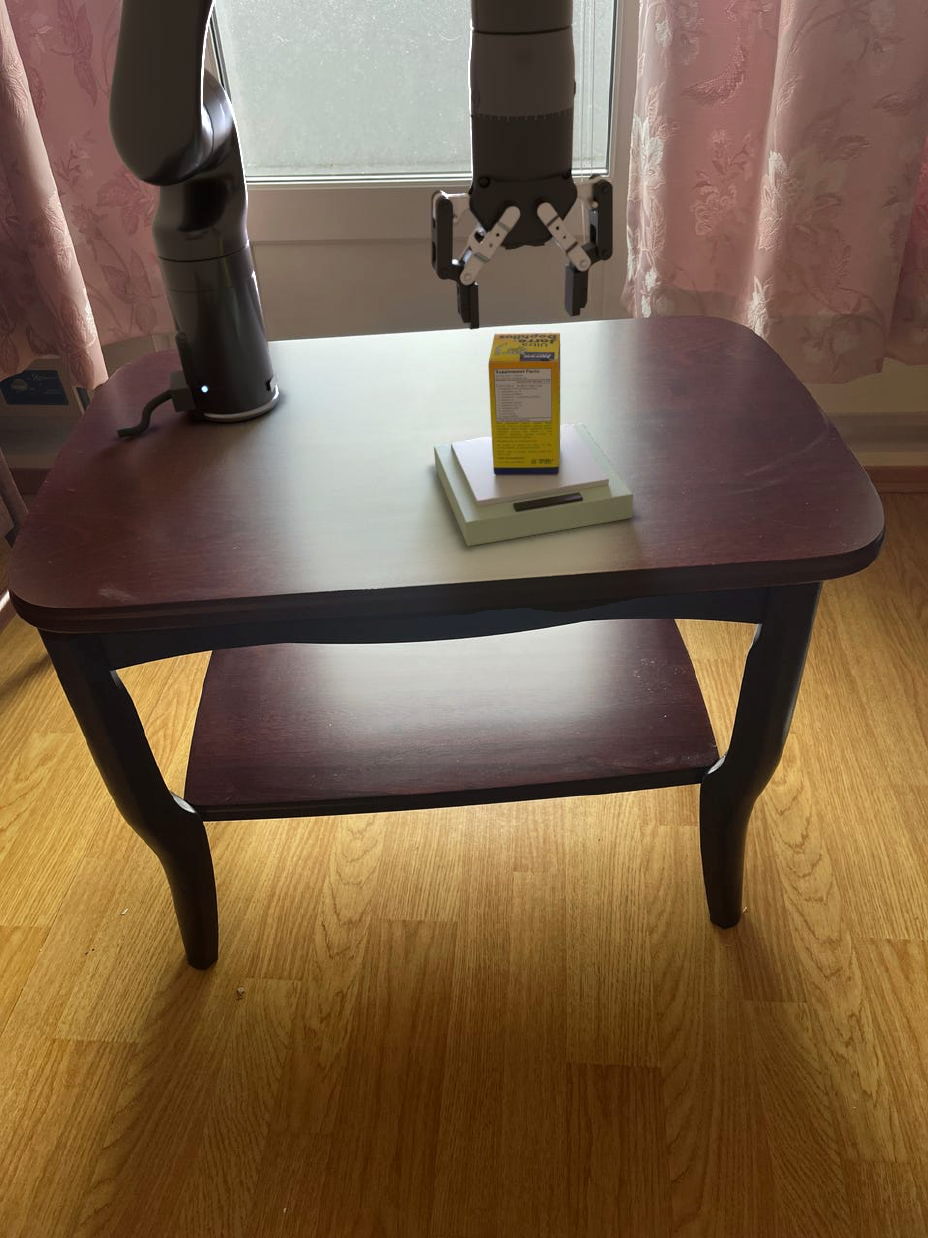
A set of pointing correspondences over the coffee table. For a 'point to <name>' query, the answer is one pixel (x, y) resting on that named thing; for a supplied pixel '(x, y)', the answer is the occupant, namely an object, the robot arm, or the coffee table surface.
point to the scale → (531, 490)
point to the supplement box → (525, 403)
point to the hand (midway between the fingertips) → (522, 319)
